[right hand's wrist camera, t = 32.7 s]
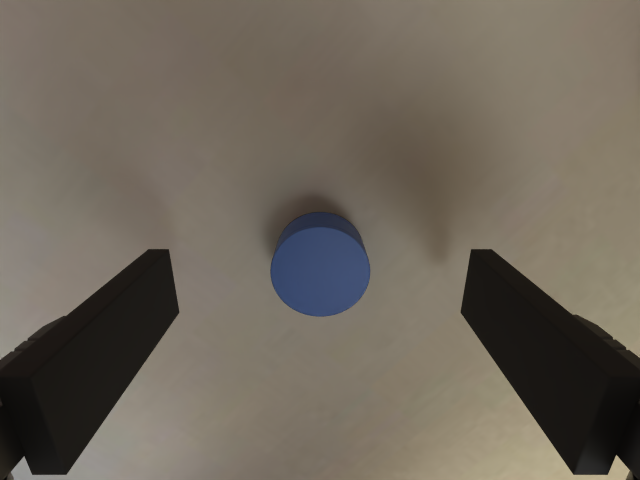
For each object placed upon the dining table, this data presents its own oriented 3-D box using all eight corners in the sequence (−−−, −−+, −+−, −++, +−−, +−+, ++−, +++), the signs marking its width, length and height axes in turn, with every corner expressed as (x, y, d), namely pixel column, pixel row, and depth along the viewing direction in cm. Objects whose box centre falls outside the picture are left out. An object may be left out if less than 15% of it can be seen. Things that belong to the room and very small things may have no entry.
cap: (331, 306, 17) (333, 332, 15) (260, 264, 16) (252, 286, 14) (381, 242, 16) (390, 261, 14) (307, 194, 15) (305, 207, 13)
